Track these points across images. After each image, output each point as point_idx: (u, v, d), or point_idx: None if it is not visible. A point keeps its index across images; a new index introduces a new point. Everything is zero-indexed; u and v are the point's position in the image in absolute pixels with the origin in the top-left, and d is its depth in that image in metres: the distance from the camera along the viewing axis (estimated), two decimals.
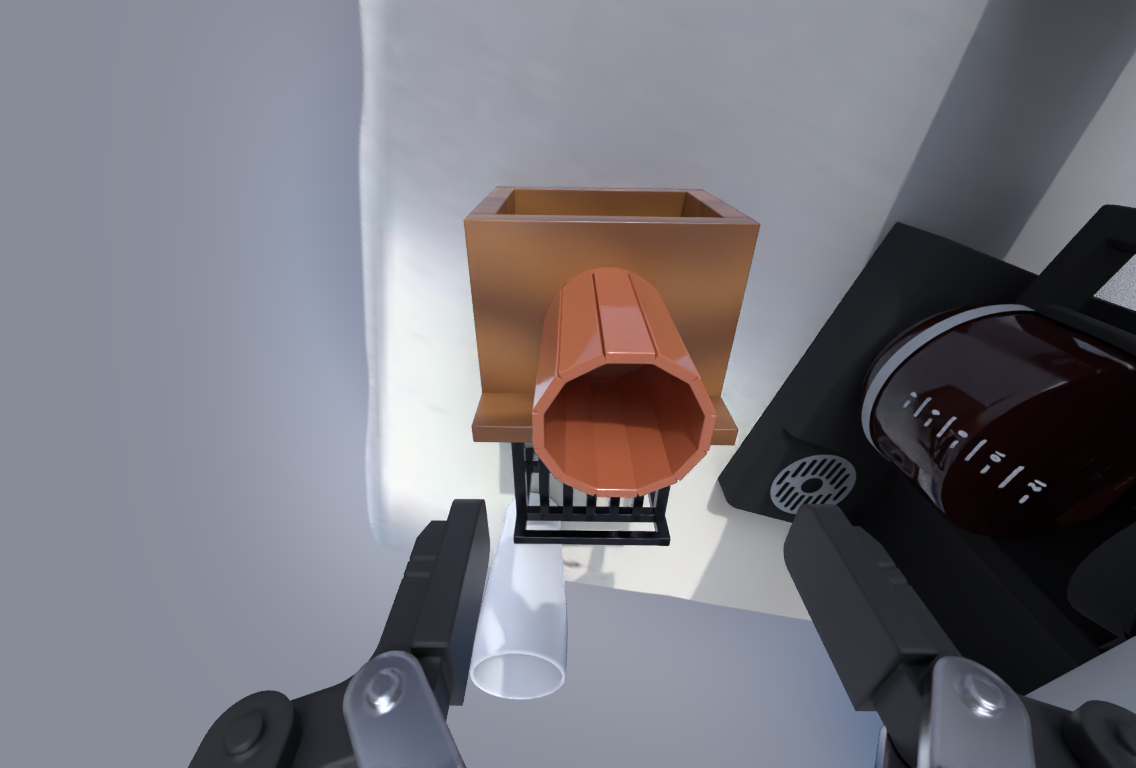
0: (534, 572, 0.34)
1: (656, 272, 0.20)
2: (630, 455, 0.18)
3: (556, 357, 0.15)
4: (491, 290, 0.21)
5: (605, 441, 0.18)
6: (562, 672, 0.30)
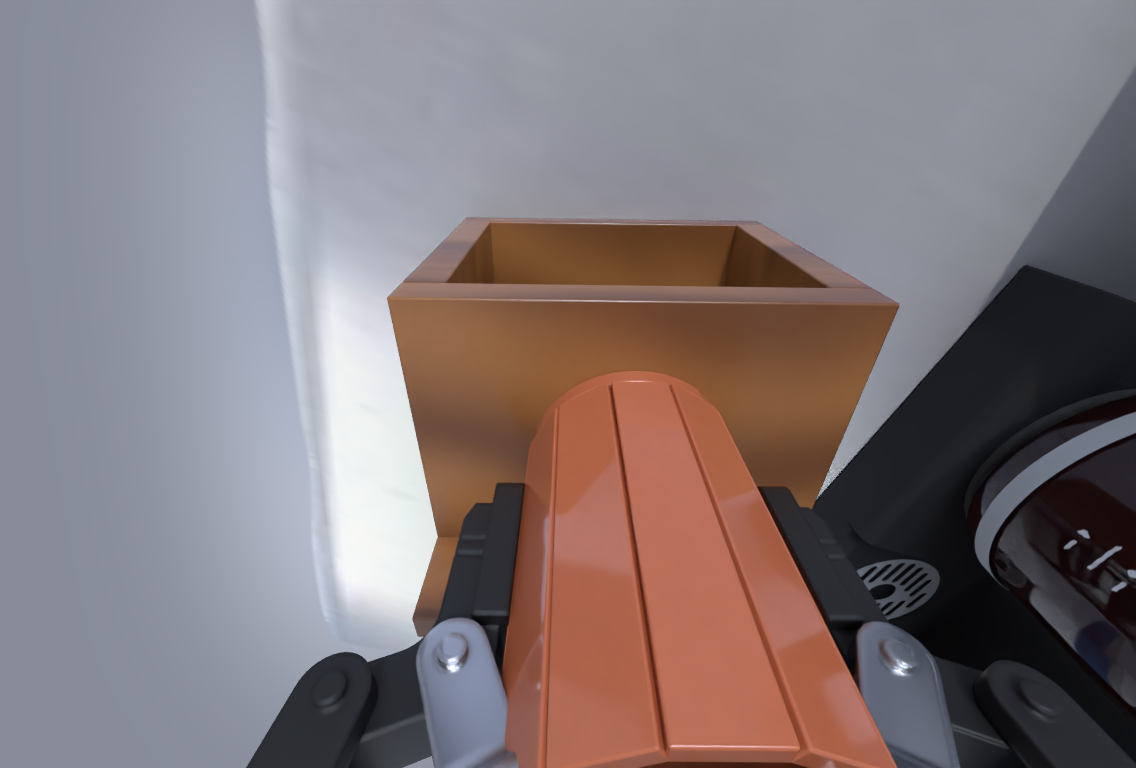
0: None
1: (715, 377, 0.12)
2: None
3: (542, 660, 0.07)
4: (442, 403, 0.13)
5: None
6: None
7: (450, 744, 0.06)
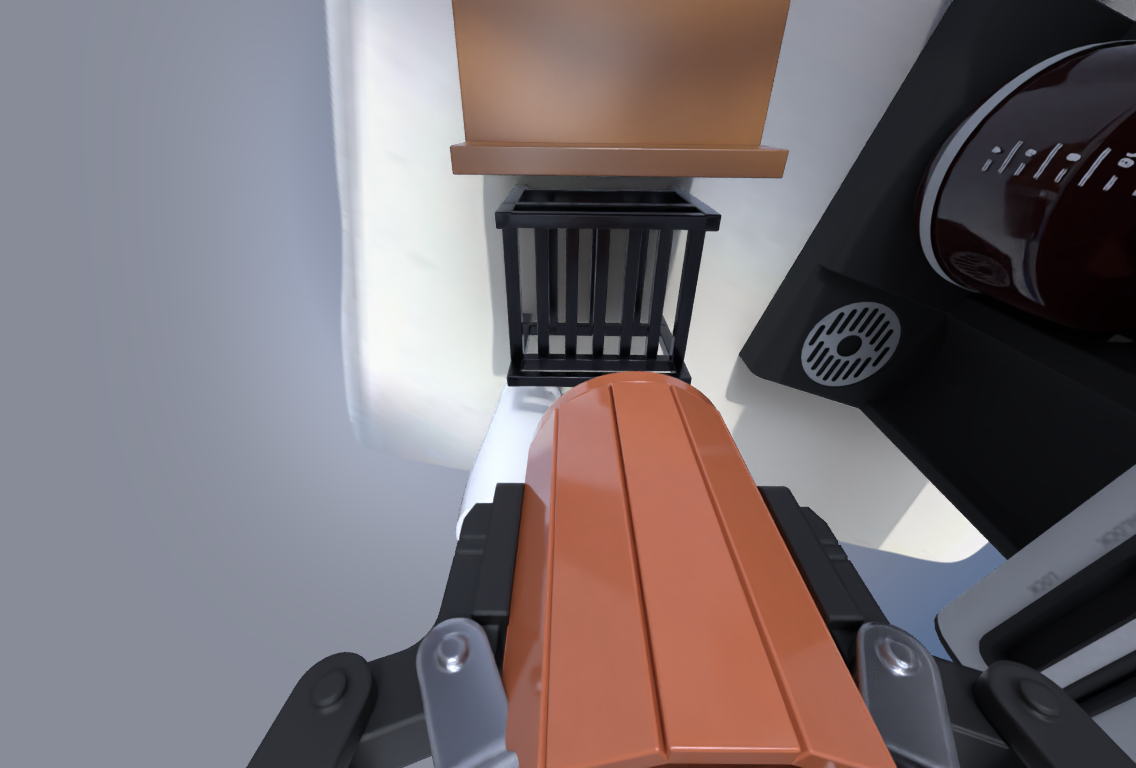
0: (532, 433, 0.29)
1: None
2: None
3: (542, 662, 0.07)
4: None
5: None
6: None
7: (450, 744, 0.06)
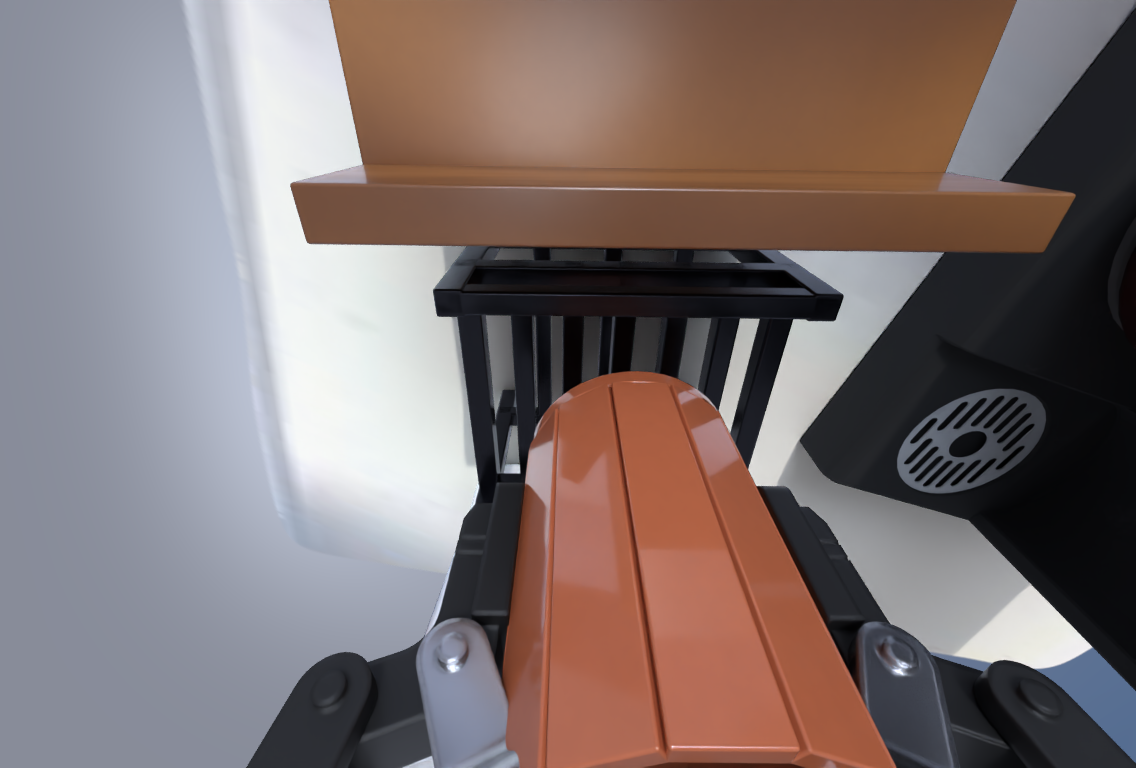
0: None
1: None
2: None
3: (542, 661, 0.07)
4: None
5: None
6: None
7: (450, 744, 0.06)
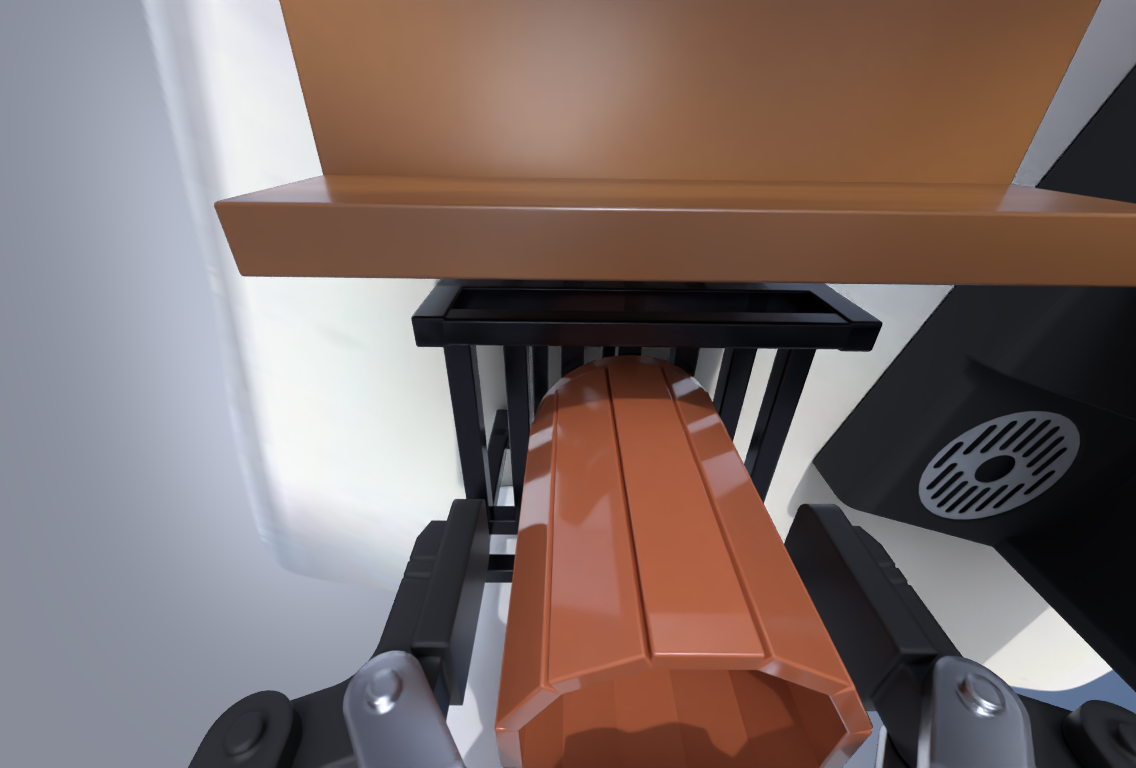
0: None
1: None
2: (674, 699, 0.10)
3: (544, 598, 0.07)
4: None
5: None
6: None
7: None
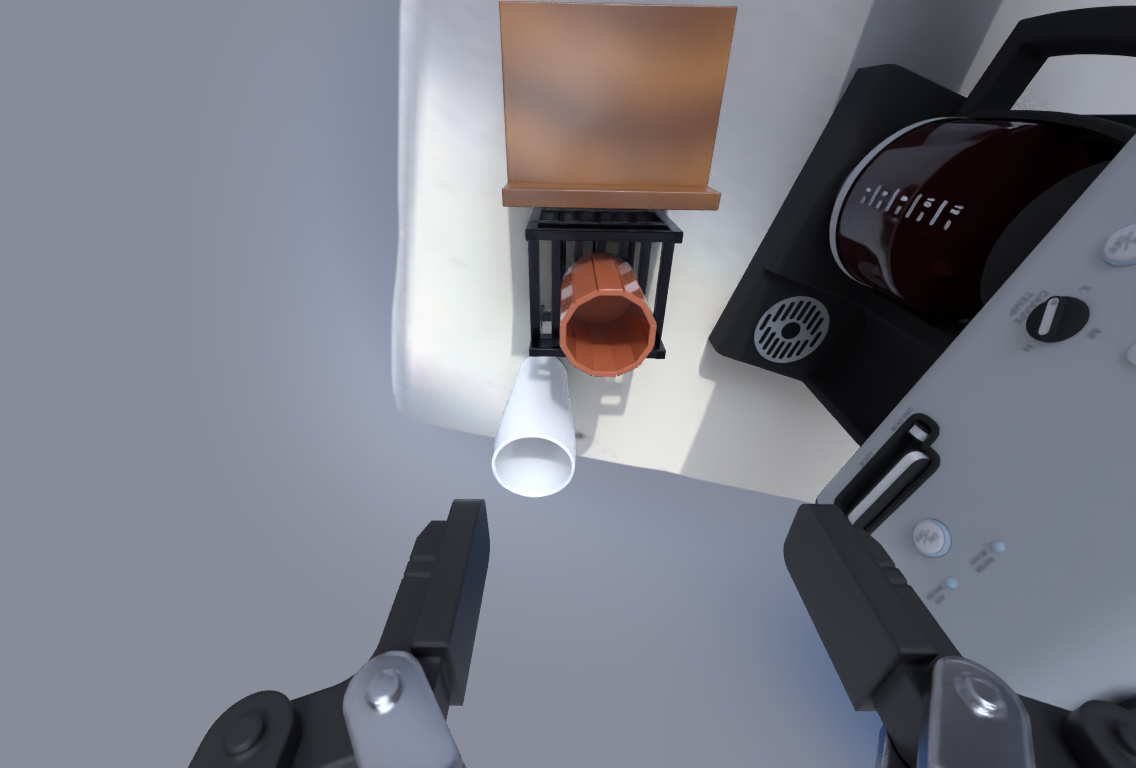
0: (546, 394, 0.38)
1: (654, 55, 0.25)
2: (613, 358, 0.31)
3: (572, 295, 0.28)
4: (519, 73, 0.26)
5: (598, 352, 0.31)
6: (572, 461, 0.34)
7: None
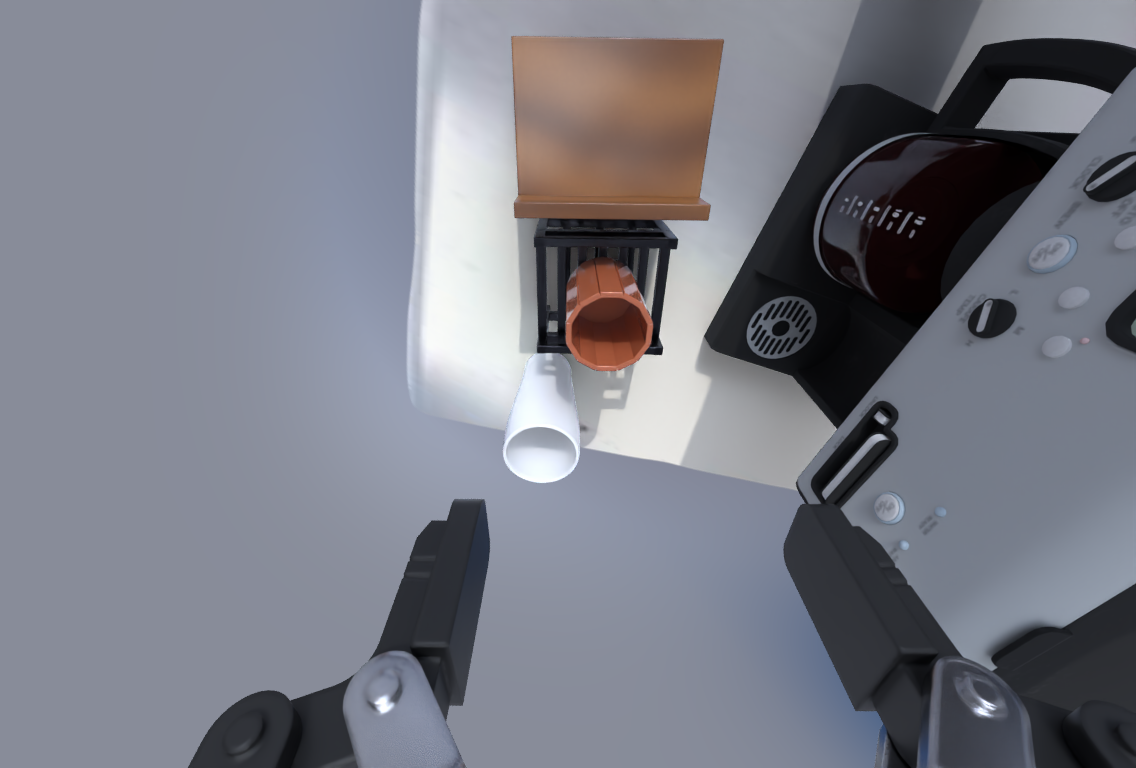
0: (553, 388, 0.41)
1: (650, 82, 0.28)
2: (614, 354, 0.34)
3: (577, 297, 0.31)
4: (529, 99, 0.28)
5: (601, 349, 0.34)
6: (577, 449, 0.37)
7: None
